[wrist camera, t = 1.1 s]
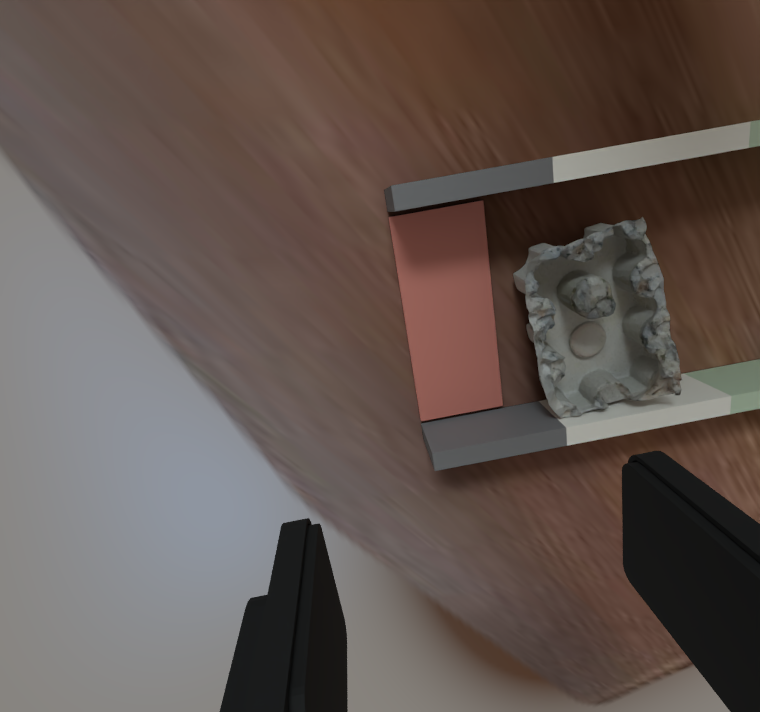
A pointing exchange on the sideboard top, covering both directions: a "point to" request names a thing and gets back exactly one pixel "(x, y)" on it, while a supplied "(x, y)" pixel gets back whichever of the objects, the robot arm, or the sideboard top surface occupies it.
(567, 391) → the egg carton
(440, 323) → the frame
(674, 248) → the sideboard top surface
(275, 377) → the sideboard top surface
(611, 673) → the sideboard top surface
